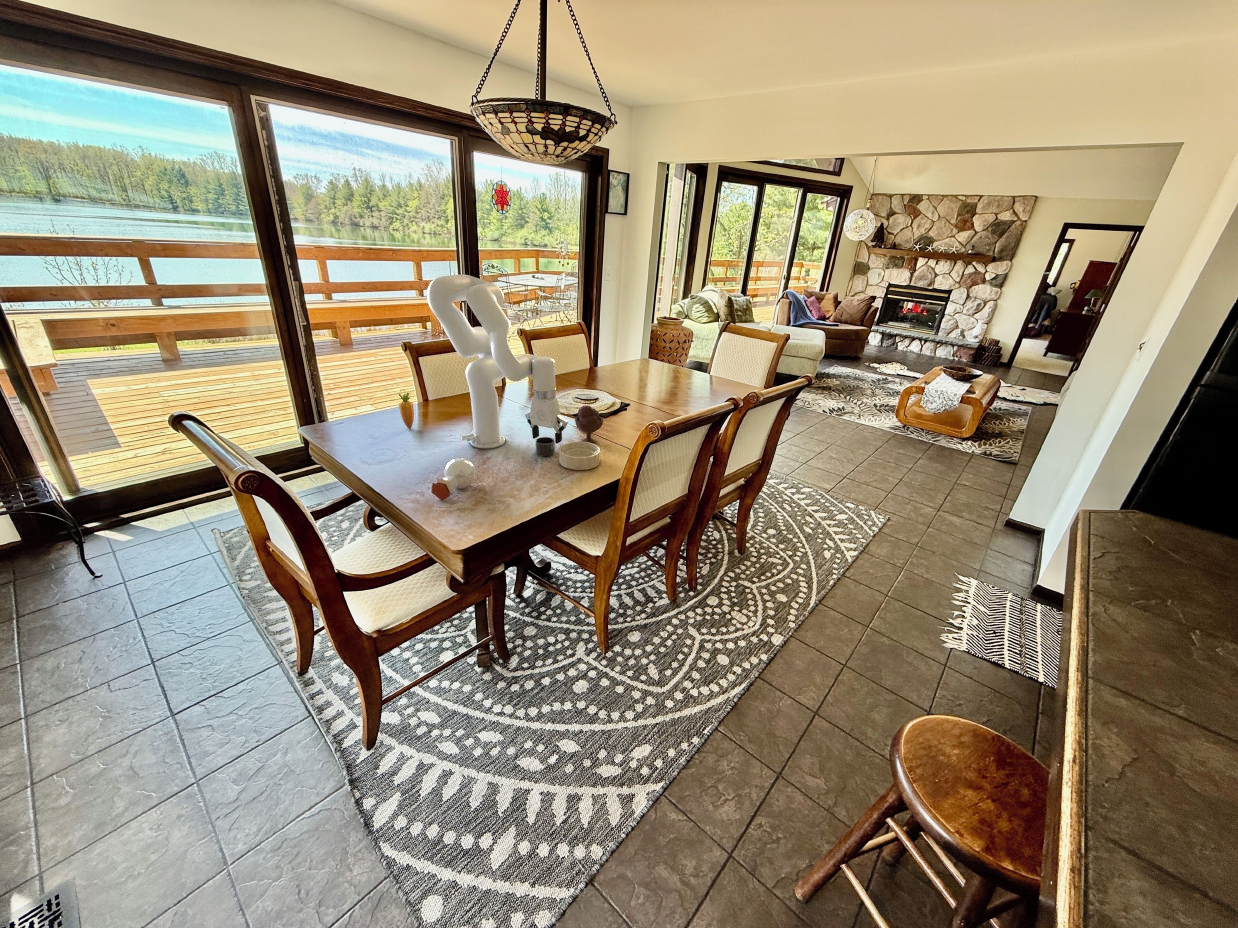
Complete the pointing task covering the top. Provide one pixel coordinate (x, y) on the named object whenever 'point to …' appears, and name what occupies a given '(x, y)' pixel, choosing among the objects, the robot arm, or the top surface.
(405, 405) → the carrot
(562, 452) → the cream bowl
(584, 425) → the ice cream bowl
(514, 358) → the robot arm
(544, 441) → the black bowl
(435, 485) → the potion bottle
